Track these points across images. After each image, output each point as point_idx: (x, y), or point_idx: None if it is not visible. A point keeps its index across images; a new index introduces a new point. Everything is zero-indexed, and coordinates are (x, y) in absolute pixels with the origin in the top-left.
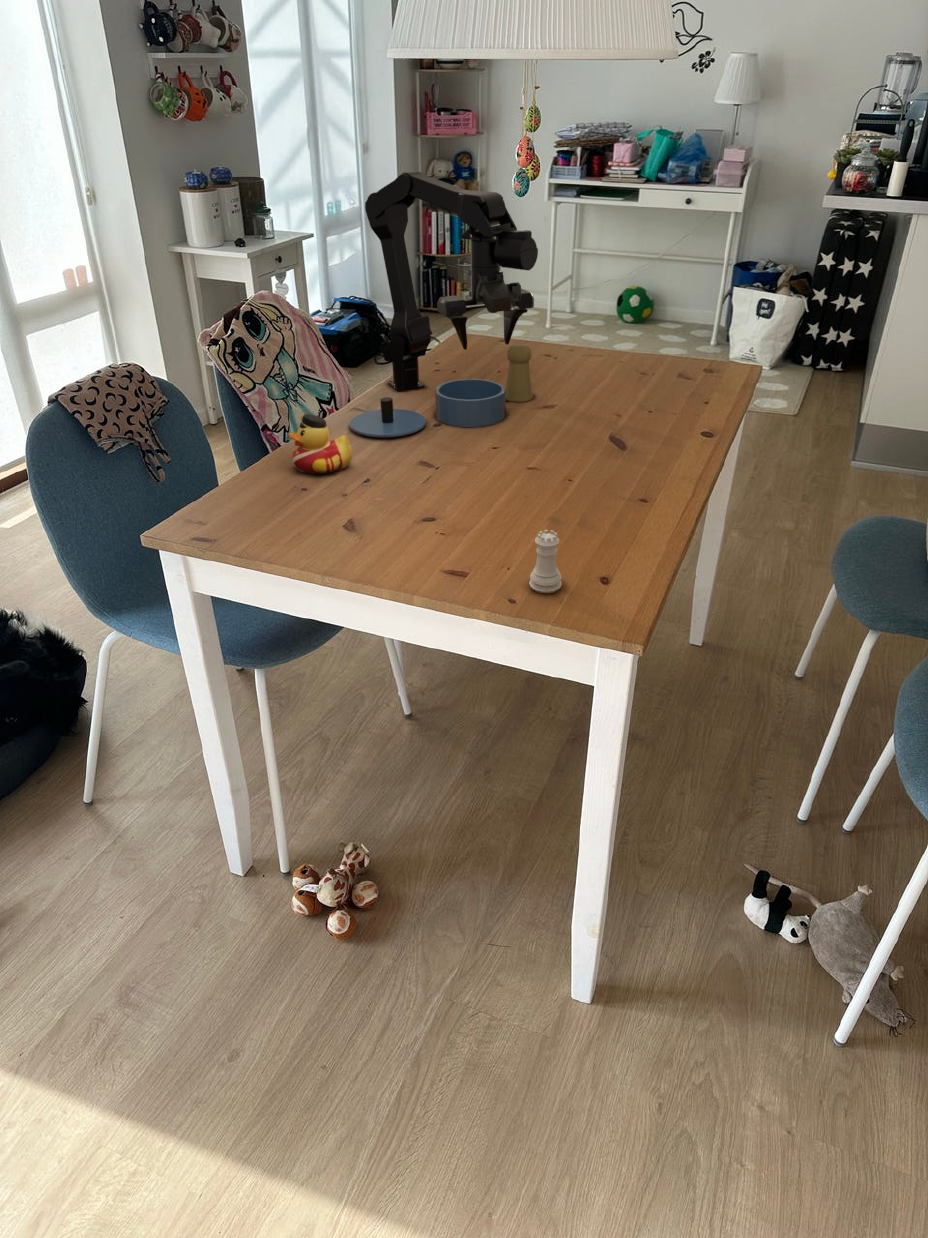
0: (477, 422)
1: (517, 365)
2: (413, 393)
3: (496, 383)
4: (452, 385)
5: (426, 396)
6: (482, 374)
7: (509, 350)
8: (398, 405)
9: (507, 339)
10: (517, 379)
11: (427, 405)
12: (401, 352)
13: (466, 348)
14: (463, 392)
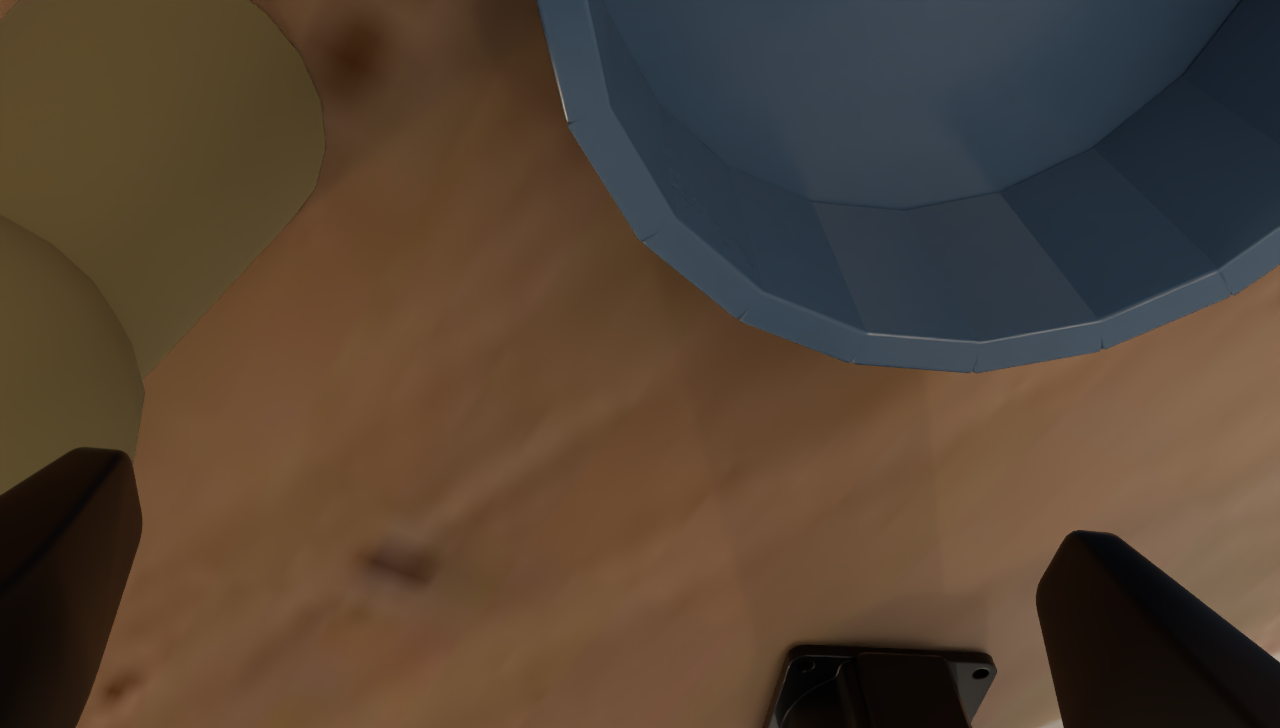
0: None
1: (49, 219)
2: (929, 591)
3: None
4: (980, 313)
5: (899, 508)
6: (263, 691)
7: None
8: (1207, 444)
9: (72, 508)
10: (137, 110)
11: None
12: None
13: (1099, 535)
14: (824, 251)
